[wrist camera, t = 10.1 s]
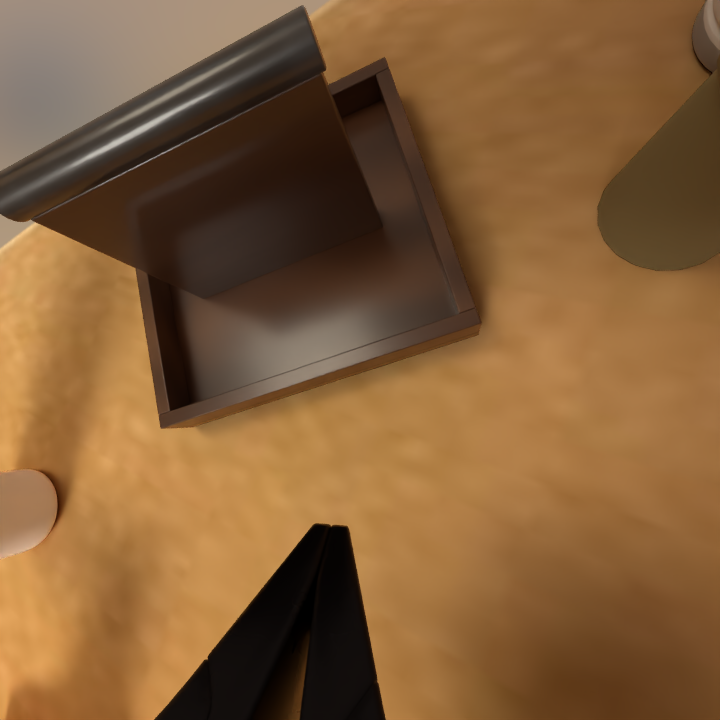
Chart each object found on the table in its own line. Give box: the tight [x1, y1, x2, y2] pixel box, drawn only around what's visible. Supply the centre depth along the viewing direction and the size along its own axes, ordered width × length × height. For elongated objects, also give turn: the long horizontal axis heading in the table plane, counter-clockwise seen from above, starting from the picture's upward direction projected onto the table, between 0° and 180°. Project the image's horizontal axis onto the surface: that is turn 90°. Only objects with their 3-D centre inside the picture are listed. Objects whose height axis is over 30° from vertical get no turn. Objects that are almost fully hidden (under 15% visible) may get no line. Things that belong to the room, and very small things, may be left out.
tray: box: [0, 5, 481, 429], centre depth 18 cm, size 16×18×12 cm
